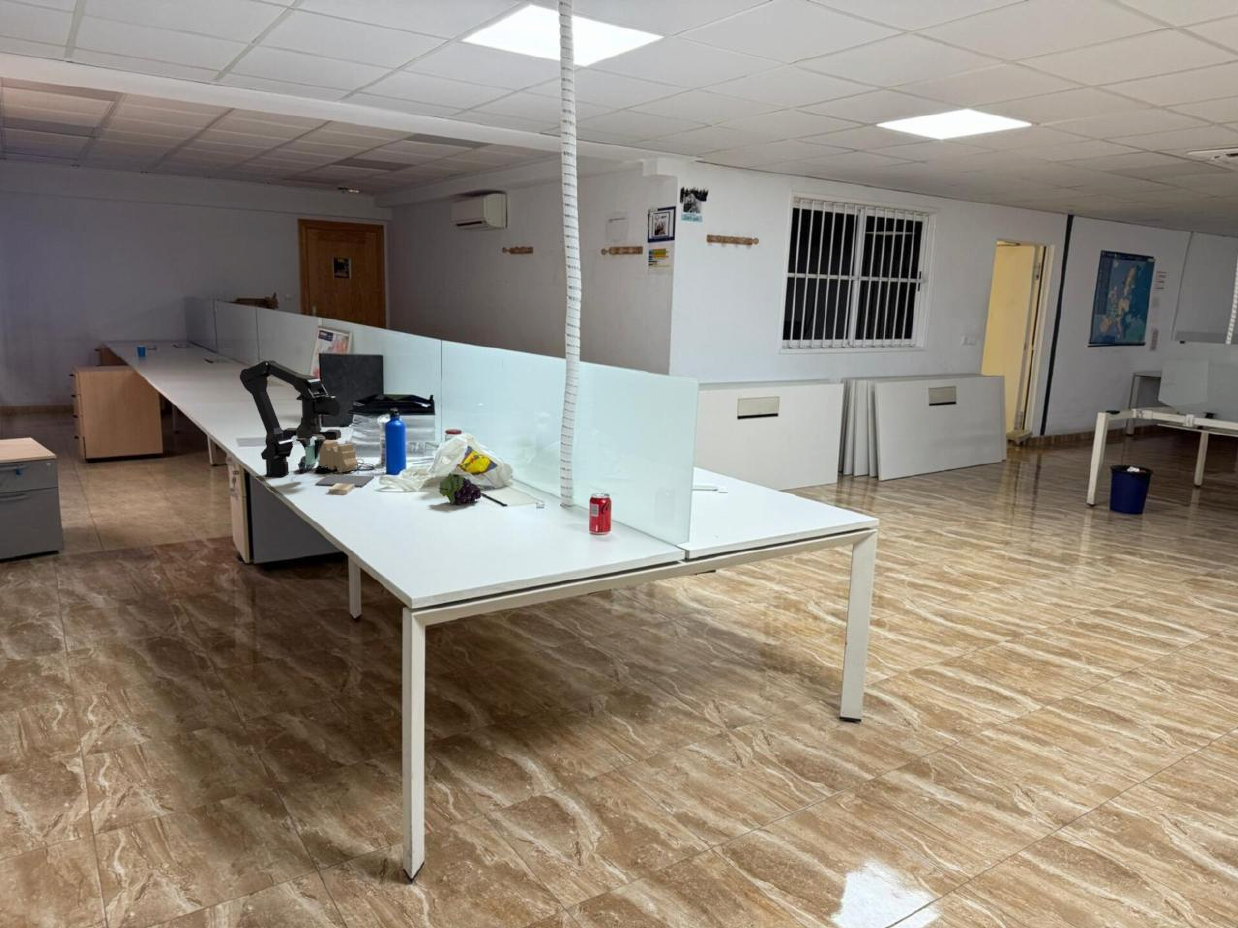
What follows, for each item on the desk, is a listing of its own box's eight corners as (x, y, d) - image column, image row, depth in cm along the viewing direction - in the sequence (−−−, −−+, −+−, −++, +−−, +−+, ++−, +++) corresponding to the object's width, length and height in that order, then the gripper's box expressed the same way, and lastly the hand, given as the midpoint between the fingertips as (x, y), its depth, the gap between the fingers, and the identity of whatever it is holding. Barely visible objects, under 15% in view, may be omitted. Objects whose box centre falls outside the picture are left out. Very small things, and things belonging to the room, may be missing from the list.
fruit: (482, 512, 284) (442, 507, 274) (466, 499, 292) (427, 494, 282) (491, 483, 283) (452, 477, 272) (475, 471, 290) (437, 465, 280)
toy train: (346, 474, 315) (345, 447, 313) (315, 467, 324) (314, 440, 322) (358, 471, 320) (357, 445, 318) (327, 464, 329) (326, 438, 326)
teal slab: (305, 464, 298) (305, 447, 297) (314, 459, 306) (313, 442, 304) (311, 464, 298) (310, 447, 297) (319, 459, 306) (319, 443, 304)
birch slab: (328, 494, 288) (328, 488, 287) (337, 488, 296) (336, 483, 295) (346, 495, 288) (346, 489, 287) (354, 489, 295) (354, 484, 295)
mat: (315, 485, 297) (315, 483, 297) (329, 476, 311) (329, 474, 311) (362, 487, 297) (362, 485, 297) (373, 477, 311) (373, 476, 311)
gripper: (274, 416, 290) (276, 462, 294) (330, 418, 290) (331, 464, 294) (287, 411, 301) (289, 455, 305) (341, 413, 301) (342, 457, 305)
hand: (312, 458), depth 302 cm, fingers closed on teal slab, 2 cm apart
